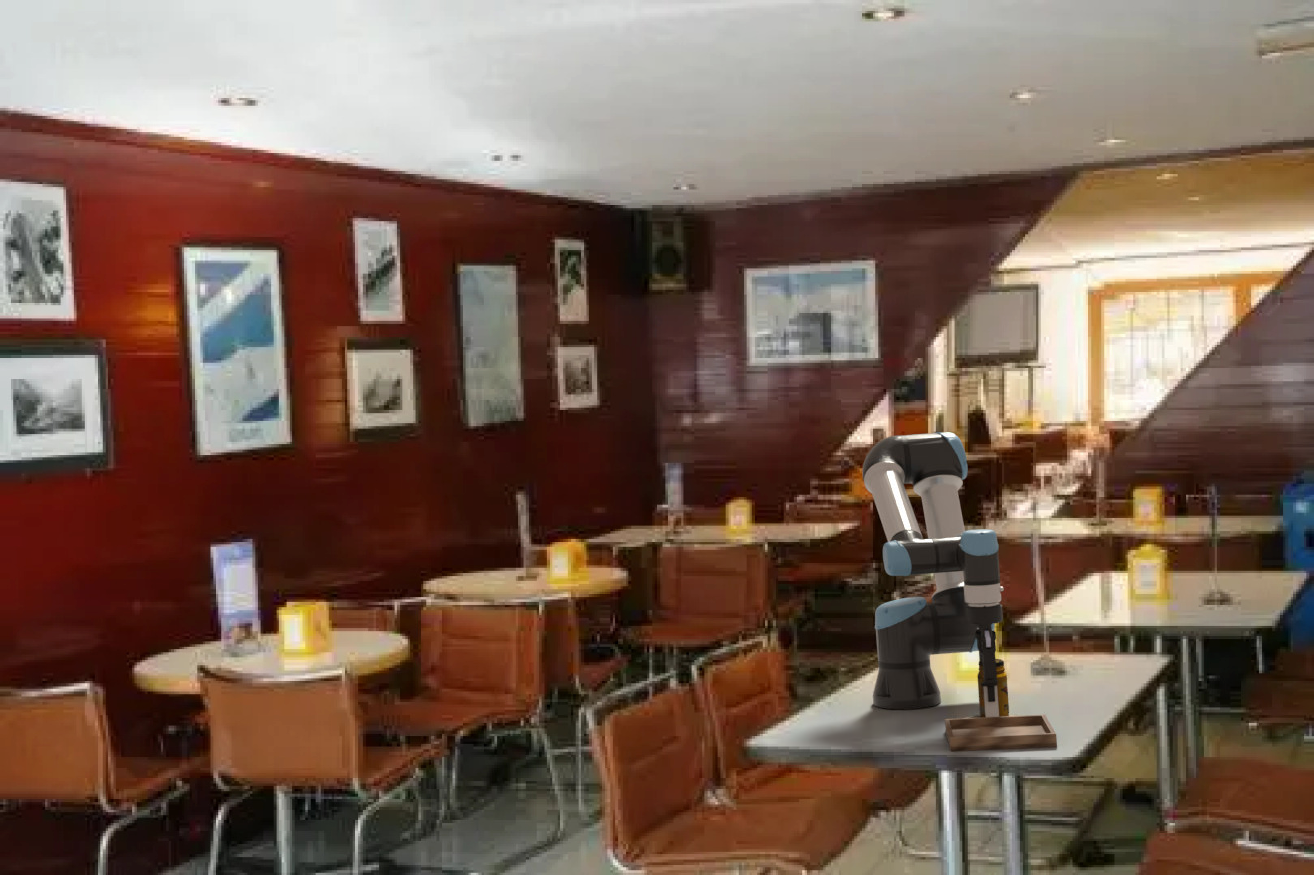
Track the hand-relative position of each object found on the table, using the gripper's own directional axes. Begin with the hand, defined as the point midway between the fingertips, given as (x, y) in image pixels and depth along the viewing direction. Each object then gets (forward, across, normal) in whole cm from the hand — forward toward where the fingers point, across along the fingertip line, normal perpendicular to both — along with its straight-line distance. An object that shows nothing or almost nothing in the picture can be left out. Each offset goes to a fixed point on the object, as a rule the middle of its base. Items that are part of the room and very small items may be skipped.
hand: (990, 712), depth 313 cm
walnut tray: (+1, -18, 0) cm, 18 cm away
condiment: (+1, 0, 0) cm, 1 cm away
